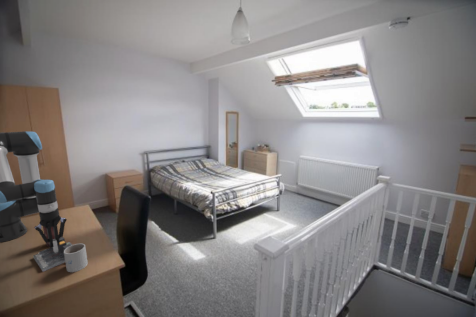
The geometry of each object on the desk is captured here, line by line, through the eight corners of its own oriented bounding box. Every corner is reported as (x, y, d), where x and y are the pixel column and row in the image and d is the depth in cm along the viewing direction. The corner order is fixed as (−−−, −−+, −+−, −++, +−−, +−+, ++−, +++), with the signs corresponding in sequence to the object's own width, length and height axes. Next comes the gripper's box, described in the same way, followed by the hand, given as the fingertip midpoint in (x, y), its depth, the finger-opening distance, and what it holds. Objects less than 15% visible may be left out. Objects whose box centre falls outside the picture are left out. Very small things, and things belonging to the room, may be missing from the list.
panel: (33, 258, 116) (32, 254, 115) (69, 244, 128) (69, 240, 128) (42, 271, 106) (41, 267, 105) (81, 255, 118) (80, 251, 118)
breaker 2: (64, 254, 116) (62, 246, 115) (70, 252, 118) (69, 243, 117) (66, 256, 114) (64, 248, 113) (72, 254, 117) (71, 245, 116)
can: (52, 247, 125) (48, 225, 122) (43, 246, 126) (39, 224, 123) (62, 241, 130) (59, 220, 128) (54, 240, 132) (50, 219, 129)
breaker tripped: (58, 251, 119) (57, 242, 117) (65, 248, 121) (64, 240, 120) (60, 253, 117) (59, 244, 116) (67, 251, 119) (66, 242, 118)
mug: (89, 265, 110) (87, 248, 108) (69, 274, 104) (65, 256, 102) (83, 255, 118) (80, 238, 116) (63, 263, 112) (60, 245, 110)
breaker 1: (57, 247, 122) (56, 239, 121) (64, 244, 125) (62, 236, 124) (59, 249, 121) (57, 241, 120) (65, 246, 123) (64, 238, 122)
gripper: (33, 216, 104) (41, 260, 109) (66, 207, 114) (73, 248, 119) (29, 212, 108) (38, 254, 113) (62, 204, 119) (68, 243, 123)
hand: (55, 251), depth 116 cm, fingers closed
